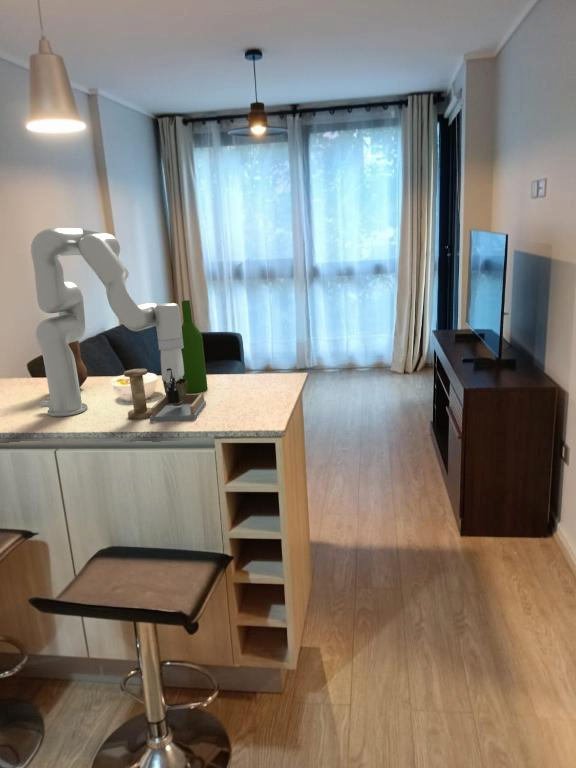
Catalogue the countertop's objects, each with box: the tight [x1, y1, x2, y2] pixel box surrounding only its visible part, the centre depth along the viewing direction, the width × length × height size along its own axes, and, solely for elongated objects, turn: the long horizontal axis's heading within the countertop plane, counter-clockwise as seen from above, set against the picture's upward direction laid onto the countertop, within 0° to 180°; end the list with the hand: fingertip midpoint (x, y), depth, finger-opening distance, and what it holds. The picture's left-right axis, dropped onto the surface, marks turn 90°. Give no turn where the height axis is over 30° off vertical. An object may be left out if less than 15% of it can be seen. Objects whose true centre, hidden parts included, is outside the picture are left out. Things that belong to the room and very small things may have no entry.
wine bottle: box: [181, 299, 208, 394], centre depth 211 cm, size 9×9×32 cm
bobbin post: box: [123, 368, 152, 421], centre depth 186 cm, size 8×8×14 cm
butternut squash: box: [68, 340, 88, 389], centre depth 226 cm, size 14×13×25 cm
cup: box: [162, 378, 187, 406], centre depth 186 cm, size 8×7×8 cm
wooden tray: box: [149, 392, 207, 423], centre depth 187 cm, size 14×16×4 cm
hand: (177, 399), depth 187 cm, fingers closed on cup, 6 cm apart
